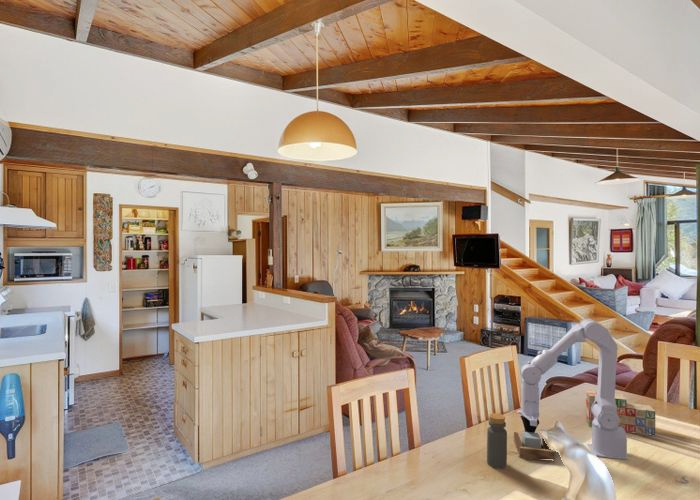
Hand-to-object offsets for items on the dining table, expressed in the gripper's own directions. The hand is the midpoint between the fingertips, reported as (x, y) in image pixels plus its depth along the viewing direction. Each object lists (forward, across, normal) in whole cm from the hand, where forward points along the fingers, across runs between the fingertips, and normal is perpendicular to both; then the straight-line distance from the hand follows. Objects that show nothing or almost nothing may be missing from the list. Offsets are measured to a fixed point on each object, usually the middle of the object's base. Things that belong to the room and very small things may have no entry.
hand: (529, 438), depth 146 cm
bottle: (+1, +19, -13) cm, 23 cm away
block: (+1, +4, 0) cm, 4 cm away
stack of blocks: (+2, -21, +36) cm, 42 cm away
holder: (+1, +6, 0) cm, 6 cm away
